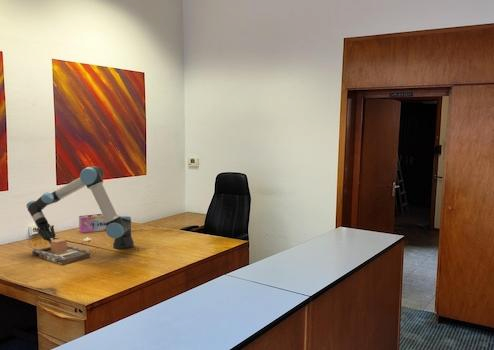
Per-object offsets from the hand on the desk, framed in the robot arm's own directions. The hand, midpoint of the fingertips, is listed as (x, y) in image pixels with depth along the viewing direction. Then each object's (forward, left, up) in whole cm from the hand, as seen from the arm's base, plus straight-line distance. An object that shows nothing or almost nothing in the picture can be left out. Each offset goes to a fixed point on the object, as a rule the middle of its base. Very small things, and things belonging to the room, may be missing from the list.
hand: (54, 246), depth 298 cm
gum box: (+40, -62, -6) cm, 74 cm away
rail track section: (-6, 0, -6) cm, 8 cm away
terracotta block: (-4, 0, -3) cm, 5 cm away
